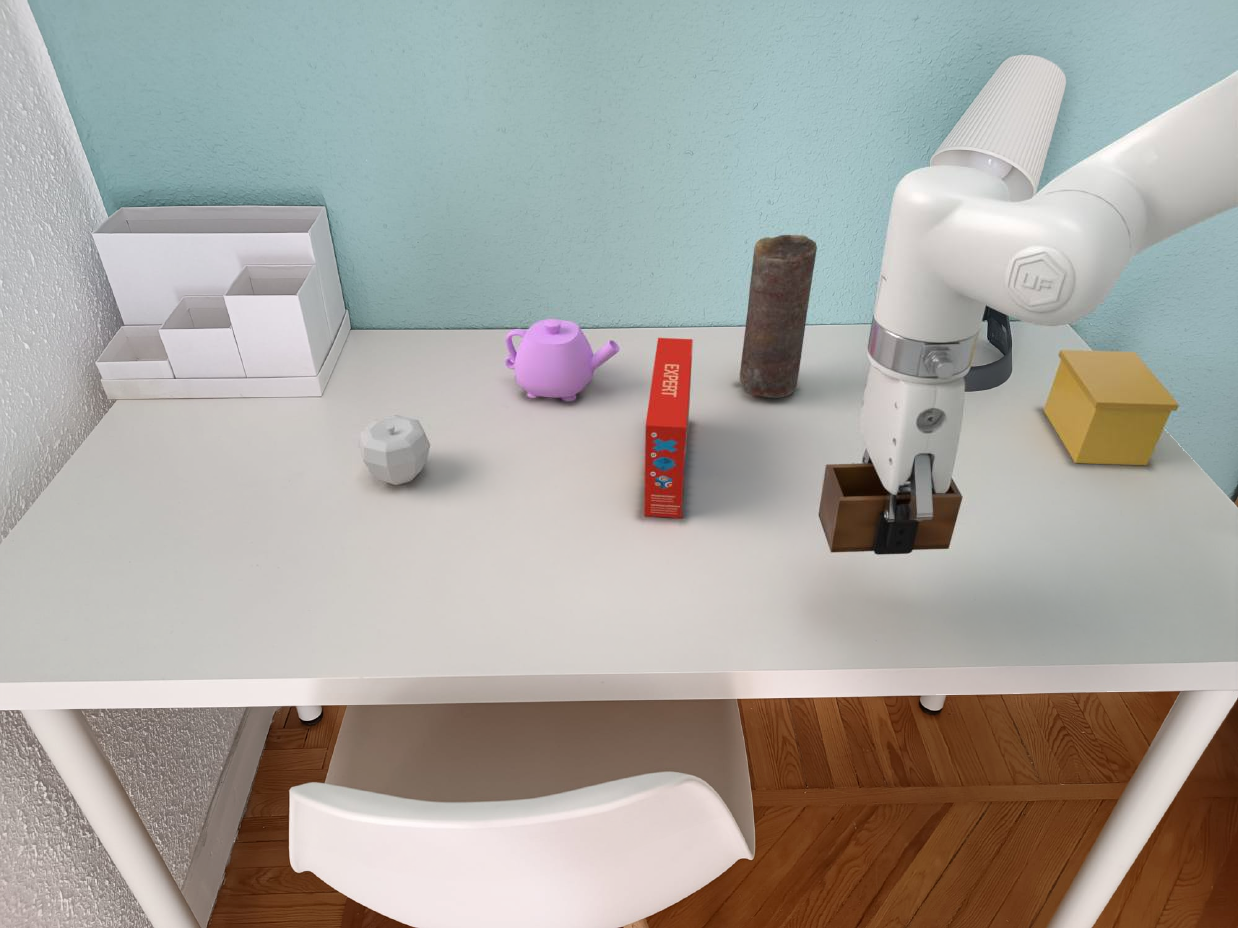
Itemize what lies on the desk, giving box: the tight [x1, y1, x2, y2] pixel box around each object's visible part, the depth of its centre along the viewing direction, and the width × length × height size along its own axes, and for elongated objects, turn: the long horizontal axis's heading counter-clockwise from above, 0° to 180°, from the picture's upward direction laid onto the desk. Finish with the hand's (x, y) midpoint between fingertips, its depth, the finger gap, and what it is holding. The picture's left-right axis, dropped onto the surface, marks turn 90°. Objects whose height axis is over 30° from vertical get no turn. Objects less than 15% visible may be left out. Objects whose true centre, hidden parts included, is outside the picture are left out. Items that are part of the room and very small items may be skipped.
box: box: [1043, 349, 1180, 466], centre depth 101 cm, size 12×9×8 cm
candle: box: [739, 234, 818, 399], centre depth 106 cm, size 8×7×20 cm
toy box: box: [643, 337, 694, 519], centre depth 96 cm, size 18×4×12 cm, turn 174°
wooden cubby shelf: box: [818, 462, 964, 553], centre depth 74 cm, size 10×5×6 cm, turn 91°
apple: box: [357, 414, 431, 486], centre depth 96 cm, size 8×8×7 cm
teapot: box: [504, 318, 621, 402], centre depth 110 cm, size 10×15×9 cm
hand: (882, 527), depth 75 cm, fingers closed on wooden cubby shelf, 5 cm apart
